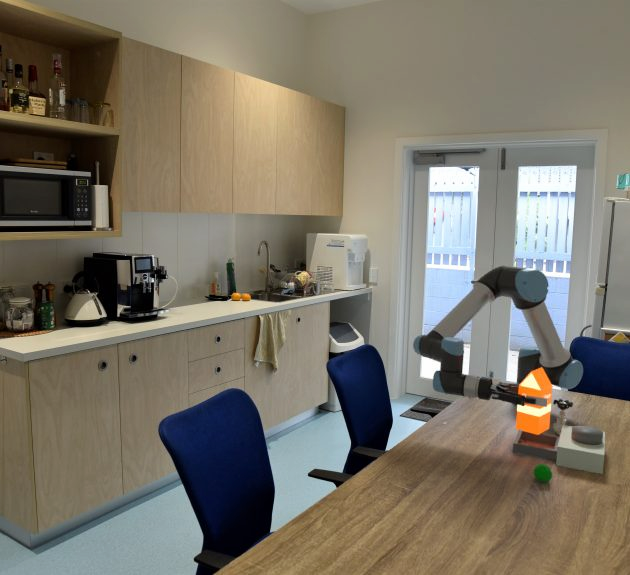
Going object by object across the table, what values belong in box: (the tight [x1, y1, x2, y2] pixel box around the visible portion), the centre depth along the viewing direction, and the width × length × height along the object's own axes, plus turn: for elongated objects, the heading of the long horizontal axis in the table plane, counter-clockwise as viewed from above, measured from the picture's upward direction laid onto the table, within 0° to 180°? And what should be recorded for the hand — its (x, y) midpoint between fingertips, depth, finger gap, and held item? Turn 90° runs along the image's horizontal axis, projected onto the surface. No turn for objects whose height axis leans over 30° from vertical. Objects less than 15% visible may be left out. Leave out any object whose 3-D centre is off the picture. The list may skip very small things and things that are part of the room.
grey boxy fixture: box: [512, 424, 606, 475], centre depth 194 cm, size 22×26×9 cm
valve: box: [552, 398, 574, 436], centre depth 210 cm, size 7×7×12 cm
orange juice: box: [515, 367, 554, 435], centre depth 195 cm, size 8×9×20 cm
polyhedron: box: [532, 463, 553, 483], centre depth 173 cm, size 5×5×5 cm
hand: (548, 398), depth 193 cm, fingers closed on orange juice, 10 cm apart
